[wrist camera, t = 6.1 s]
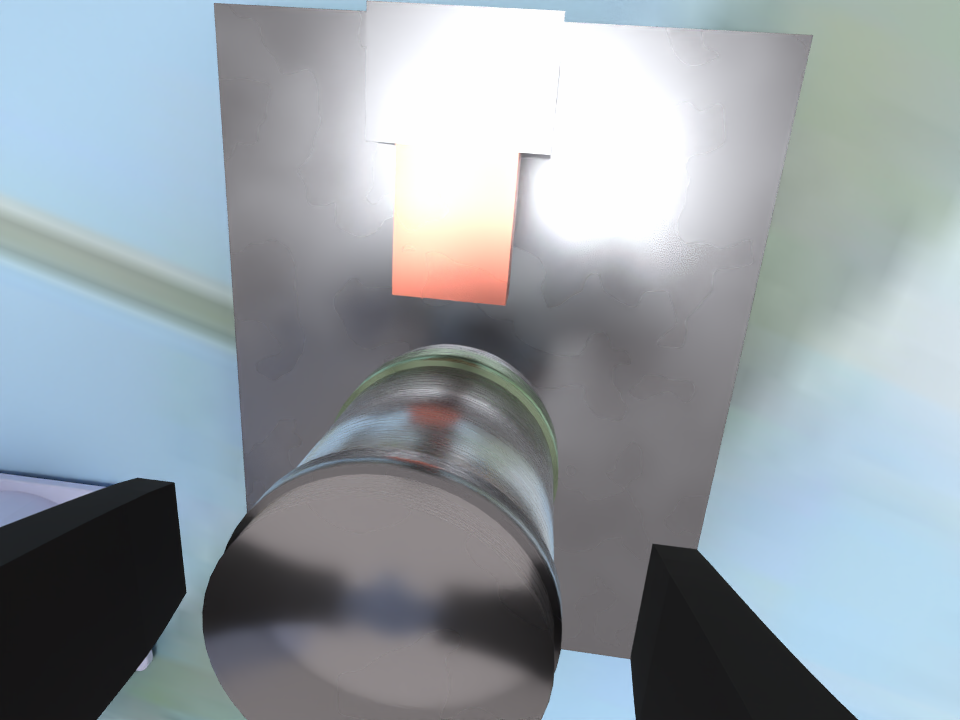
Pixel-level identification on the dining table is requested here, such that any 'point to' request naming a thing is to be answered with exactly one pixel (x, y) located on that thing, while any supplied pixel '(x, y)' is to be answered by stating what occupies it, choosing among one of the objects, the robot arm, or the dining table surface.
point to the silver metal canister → (401, 557)
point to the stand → (509, 242)
